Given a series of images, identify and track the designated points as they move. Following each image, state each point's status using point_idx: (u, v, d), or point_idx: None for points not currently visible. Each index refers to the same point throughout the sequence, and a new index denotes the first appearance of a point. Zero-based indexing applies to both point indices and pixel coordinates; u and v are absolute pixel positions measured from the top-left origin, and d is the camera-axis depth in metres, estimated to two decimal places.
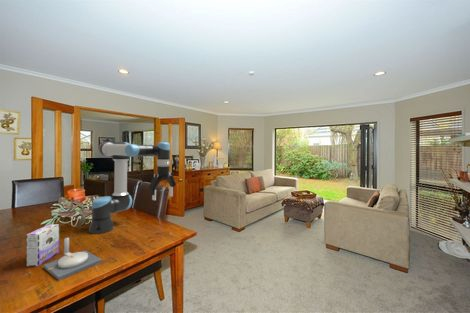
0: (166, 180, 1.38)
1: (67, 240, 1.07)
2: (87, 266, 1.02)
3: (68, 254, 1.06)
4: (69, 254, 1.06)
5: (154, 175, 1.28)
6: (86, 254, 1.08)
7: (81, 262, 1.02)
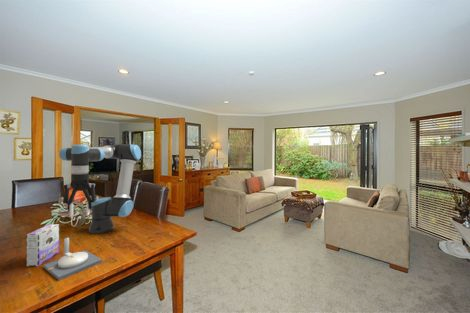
0: None
1: (67, 240, 1.07)
2: (87, 266, 1.02)
3: (68, 254, 1.06)
4: (69, 254, 1.06)
5: None
6: (86, 254, 1.08)
7: (81, 262, 1.02)
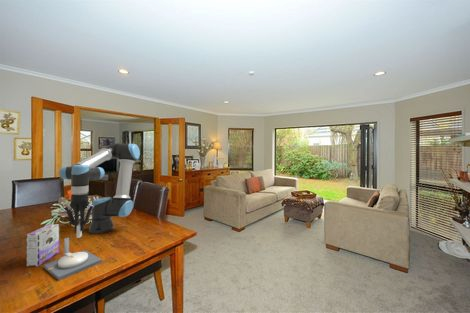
0: None
1: (67, 240, 1.07)
2: (87, 266, 1.02)
3: (68, 254, 1.06)
4: (69, 254, 1.06)
5: None
6: (86, 254, 1.08)
7: (81, 262, 1.02)
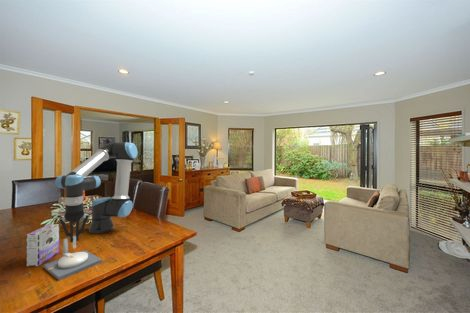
0: None
1: (66, 240, 1.07)
2: (87, 266, 1.02)
3: (67, 254, 1.06)
4: (68, 254, 1.06)
5: None
6: (86, 254, 1.08)
7: (82, 262, 1.02)
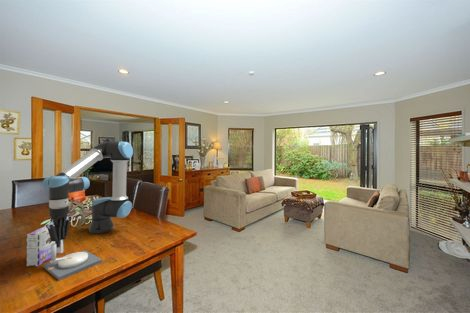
0: None
1: None
2: (87, 266, 1.02)
3: (61, 258, 1.02)
4: (62, 258, 1.02)
5: (48, 227, 0.98)
6: (80, 252, 1.09)
7: (87, 256, 1.07)
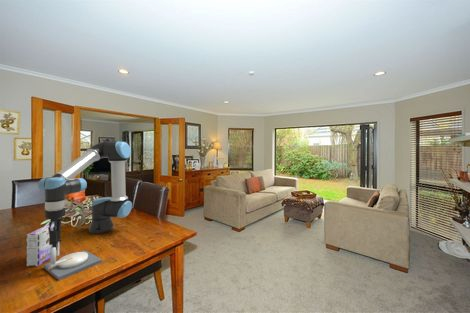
0: None
1: None
2: (87, 266, 1.02)
3: (61, 261, 1.00)
4: (62, 260, 1.00)
5: (51, 229, 0.96)
6: (73, 253, 1.08)
7: None
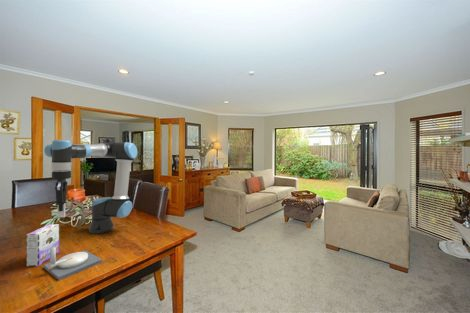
0: None
1: None
2: (87, 266, 1.02)
3: (61, 261, 1.00)
4: (62, 260, 1.00)
5: (58, 188, 0.98)
6: (73, 253, 1.08)
7: None
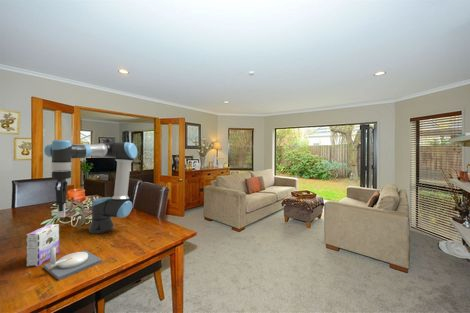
0: None
1: None
2: (87, 266, 1.02)
3: (61, 261, 1.00)
4: (62, 260, 1.00)
5: (58, 188, 0.98)
6: (73, 253, 1.08)
7: None
